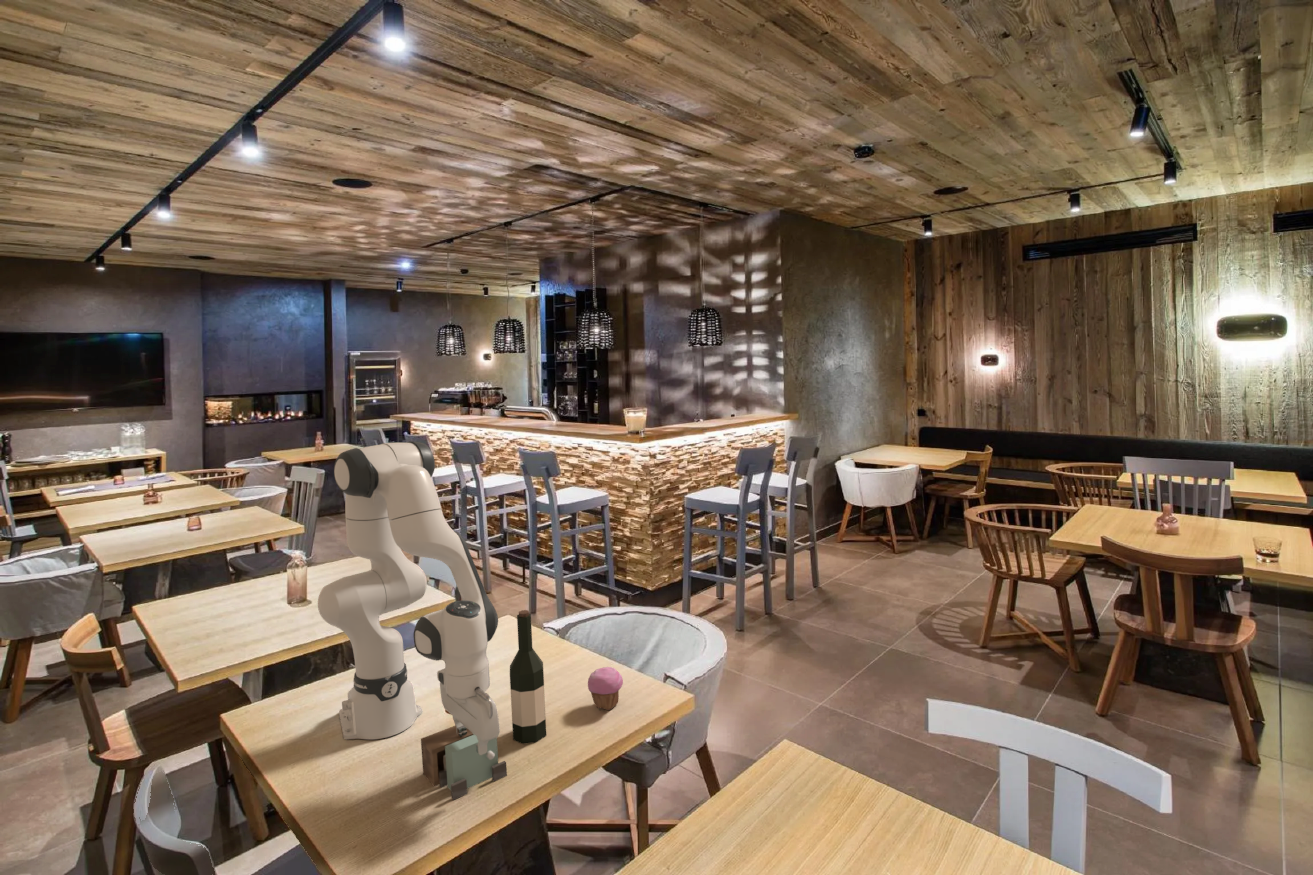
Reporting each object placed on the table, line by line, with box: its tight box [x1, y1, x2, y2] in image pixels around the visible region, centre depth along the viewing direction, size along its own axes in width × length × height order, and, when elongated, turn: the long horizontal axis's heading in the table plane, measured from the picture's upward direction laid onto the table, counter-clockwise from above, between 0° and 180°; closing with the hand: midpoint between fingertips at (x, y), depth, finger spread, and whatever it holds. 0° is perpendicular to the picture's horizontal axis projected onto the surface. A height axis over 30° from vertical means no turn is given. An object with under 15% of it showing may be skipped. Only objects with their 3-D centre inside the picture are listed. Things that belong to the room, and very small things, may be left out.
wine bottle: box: [509, 609, 547, 745], centre depth 158 cm, size 8×8×30 cm
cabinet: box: [420, 725, 508, 801], centre depth 144 cm, size 13×14×8 cm
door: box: [445, 735, 499, 791], centre depth 141 cm, size 5×10×9 cm, turn 131°
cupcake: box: [587, 666, 624, 711], centre depth 171 cm, size 9×9×10 cm
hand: (471, 743), depth 141 cm, fingers open, 8 cm apart
